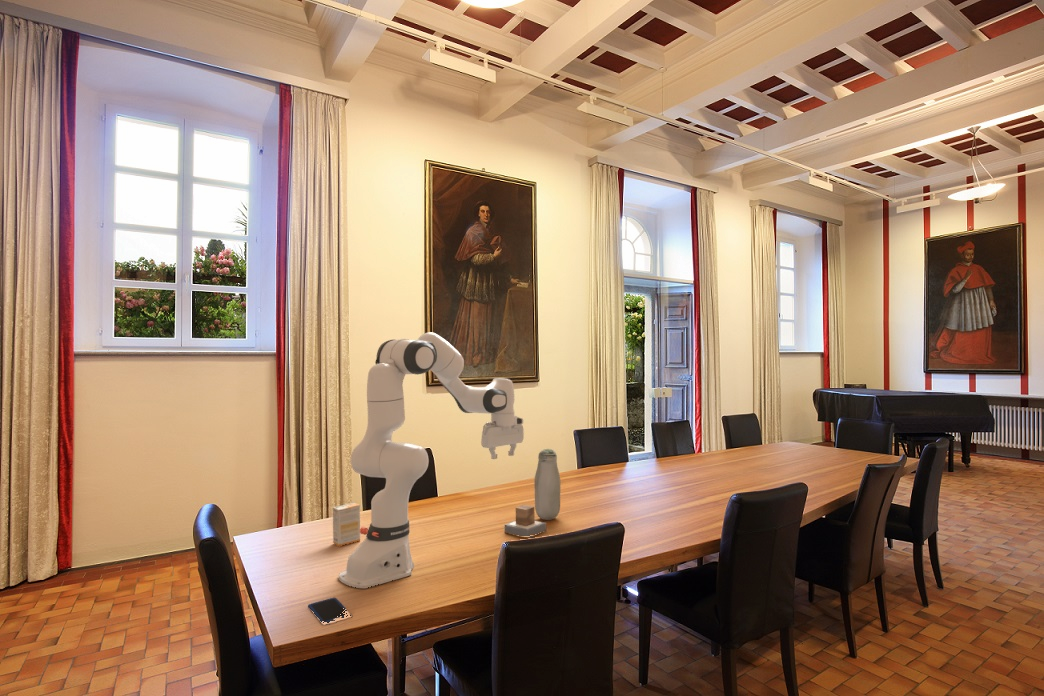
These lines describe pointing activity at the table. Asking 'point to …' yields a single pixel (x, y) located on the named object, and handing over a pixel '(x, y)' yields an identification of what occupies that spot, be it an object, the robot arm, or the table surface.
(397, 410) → the robot arm
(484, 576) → the table surface
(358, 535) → the supplement box
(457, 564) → the table surface
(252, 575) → the table surface
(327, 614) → the cell phone
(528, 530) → the base block
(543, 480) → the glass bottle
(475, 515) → the table surface
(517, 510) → the walnut block
